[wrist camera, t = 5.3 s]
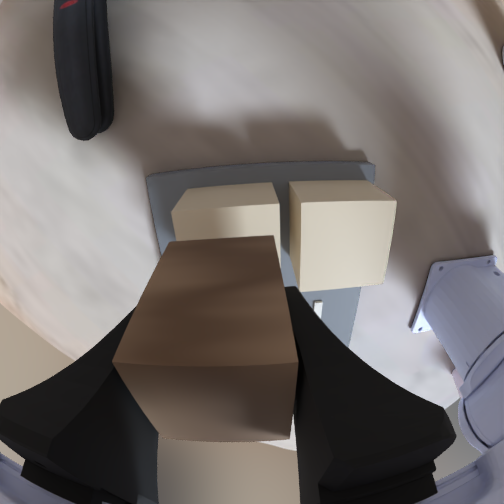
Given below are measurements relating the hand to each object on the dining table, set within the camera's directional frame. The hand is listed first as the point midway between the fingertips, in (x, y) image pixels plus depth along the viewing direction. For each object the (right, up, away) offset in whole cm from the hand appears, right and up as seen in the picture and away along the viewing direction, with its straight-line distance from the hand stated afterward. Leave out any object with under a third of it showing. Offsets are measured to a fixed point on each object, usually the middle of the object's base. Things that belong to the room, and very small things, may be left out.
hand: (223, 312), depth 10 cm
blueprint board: (+2, +1, +10) cm, 11 cm away
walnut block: (0, +1, +1) cm, 2 cm away
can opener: (-9, +18, +1) cm, 20 cm away
